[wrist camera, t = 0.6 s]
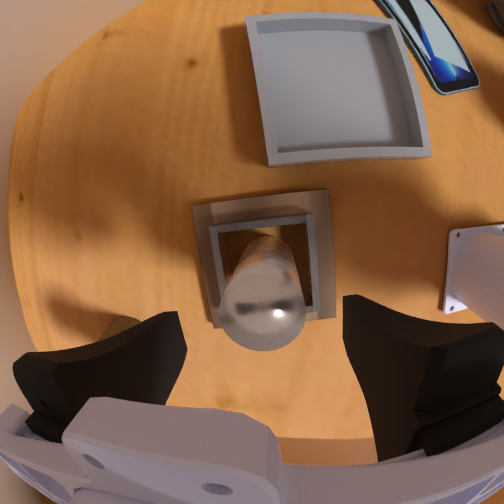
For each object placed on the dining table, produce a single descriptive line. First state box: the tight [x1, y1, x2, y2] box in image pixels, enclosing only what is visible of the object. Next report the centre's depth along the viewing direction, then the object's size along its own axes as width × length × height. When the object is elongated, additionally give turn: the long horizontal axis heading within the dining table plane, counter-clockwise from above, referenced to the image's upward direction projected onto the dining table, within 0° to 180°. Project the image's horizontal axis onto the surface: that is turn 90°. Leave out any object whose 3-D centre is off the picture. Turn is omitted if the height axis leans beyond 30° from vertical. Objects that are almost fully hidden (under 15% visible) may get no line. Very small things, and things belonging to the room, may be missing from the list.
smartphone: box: [375, 0, 480, 95], centre depth 14 cm, size 7×1×15 cm
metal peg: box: [219, 236, 306, 351], centre depth 17 cm, size 4×4×9 cm
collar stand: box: [191, 189, 336, 329], centre depth 20 cm, size 10×10×2 cm
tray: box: [245, 12, 432, 168], centre depth 16 cm, size 12×12×3 cm
